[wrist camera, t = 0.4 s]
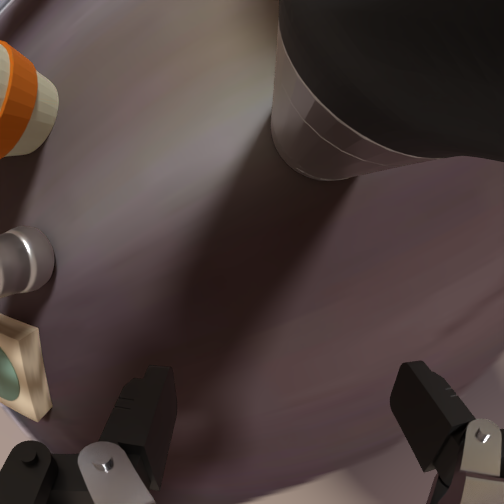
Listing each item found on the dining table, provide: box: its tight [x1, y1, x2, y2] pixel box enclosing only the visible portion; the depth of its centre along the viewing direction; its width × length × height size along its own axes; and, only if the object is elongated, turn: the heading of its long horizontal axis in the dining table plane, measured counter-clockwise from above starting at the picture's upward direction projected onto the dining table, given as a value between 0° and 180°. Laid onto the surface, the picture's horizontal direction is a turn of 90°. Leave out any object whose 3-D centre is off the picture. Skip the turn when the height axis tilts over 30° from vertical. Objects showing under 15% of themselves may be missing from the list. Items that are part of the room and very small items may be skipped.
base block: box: [0, 313, 53, 422], centre depth 29 cm, size 12×12×4 cm
